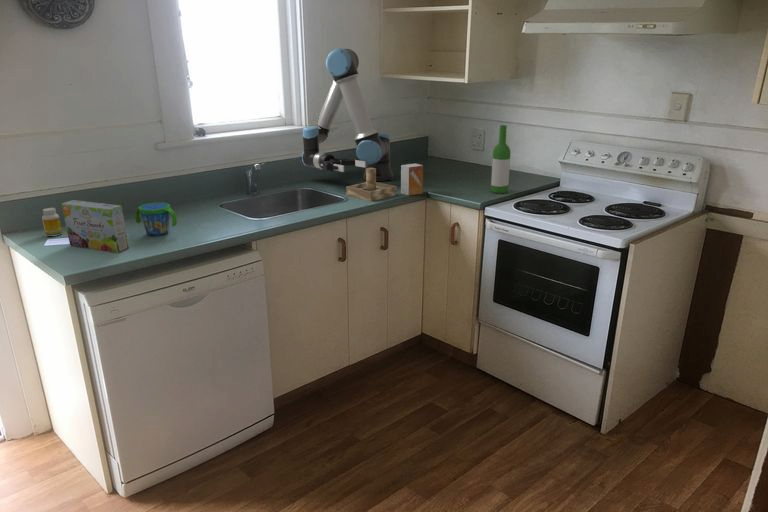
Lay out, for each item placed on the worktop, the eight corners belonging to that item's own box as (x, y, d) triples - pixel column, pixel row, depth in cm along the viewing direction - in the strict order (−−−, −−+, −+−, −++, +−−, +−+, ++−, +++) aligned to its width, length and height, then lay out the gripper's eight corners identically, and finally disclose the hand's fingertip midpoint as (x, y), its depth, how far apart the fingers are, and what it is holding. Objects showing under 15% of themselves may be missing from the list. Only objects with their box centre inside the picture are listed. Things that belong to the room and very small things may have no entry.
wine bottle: (511, 192, 269) (515, 126, 259) (496, 194, 266) (500, 126, 256) (501, 189, 276) (505, 124, 266) (487, 190, 273) (491, 125, 263)
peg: (371, 193, 269) (371, 167, 265) (378, 195, 266) (377, 168, 262) (364, 195, 266) (363, 168, 262) (371, 196, 263) (370, 170, 259)
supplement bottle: (43, 235, 211) (38, 209, 208) (59, 232, 215) (54, 206, 212) (48, 238, 208) (43, 211, 204) (64, 235, 211) (59, 209, 208)
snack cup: (185, 231, 214) (182, 204, 211) (165, 239, 205) (161, 211, 202) (151, 227, 220) (147, 200, 216) (130, 235, 211) (125, 207, 207)
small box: (408, 196, 264) (408, 167, 260) (400, 193, 269) (400, 165, 265) (423, 193, 268) (423, 165, 264) (414, 191, 274) (415, 163, 269)
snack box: (68, 246, 199) (60, 203, 194) (81, 241, 204) (74, 199, 199) (117, 253, 192) (110, 208, 187) (130, 248, 197) (123, 204, 192)
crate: (371, 189, 277) (371, 181, 276) (396, 195, 266) (396, 186, 265) (346, 195, 266) (346, 186, 265) (370, 201, 256) (370, 192, 254)
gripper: (344, 165, 293) (374, 170, 279) (304, 173, 277) (334, 179, 263) (343, 150, 291) (373, 154, 277) (303, 157, 274) (333, 162, 260)
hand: (354, 166), depth 270 cm, fingers open, 13 cm apart
